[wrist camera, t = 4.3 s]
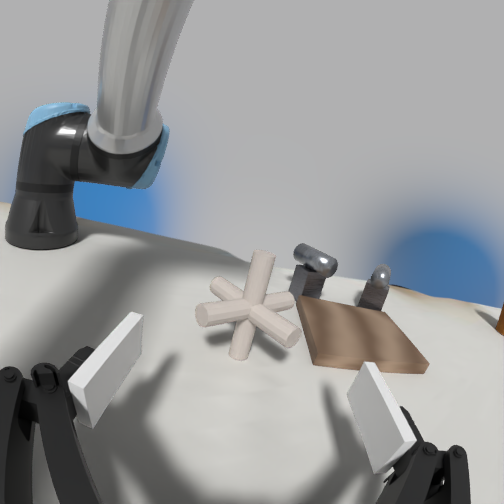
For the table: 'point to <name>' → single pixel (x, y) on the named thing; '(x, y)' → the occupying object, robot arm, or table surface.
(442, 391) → the table surface
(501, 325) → the disposable coffee cup
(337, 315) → the mounting pad
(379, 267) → the dark grey piece
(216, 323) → the pipe connector
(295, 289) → the grey capsule on block
